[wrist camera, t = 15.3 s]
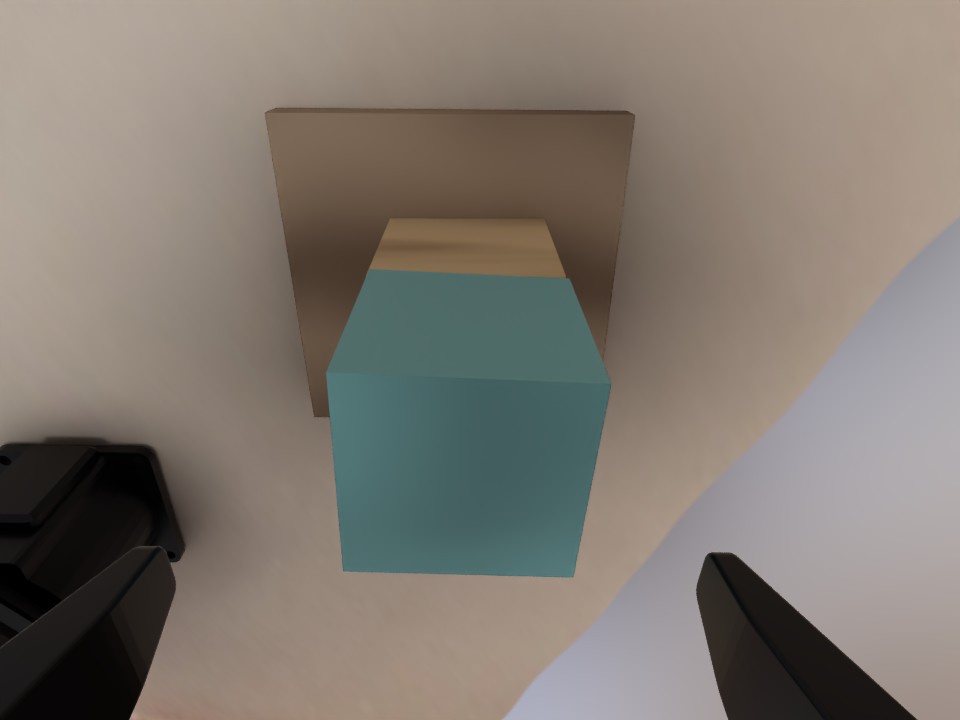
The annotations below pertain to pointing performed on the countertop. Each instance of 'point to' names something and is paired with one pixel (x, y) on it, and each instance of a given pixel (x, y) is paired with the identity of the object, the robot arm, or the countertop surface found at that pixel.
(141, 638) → the robot arm
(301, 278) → the walnut board
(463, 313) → the teal block
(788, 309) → the countertop surface
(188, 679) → the countertop surface
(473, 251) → the oak block
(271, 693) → the countertop surface
